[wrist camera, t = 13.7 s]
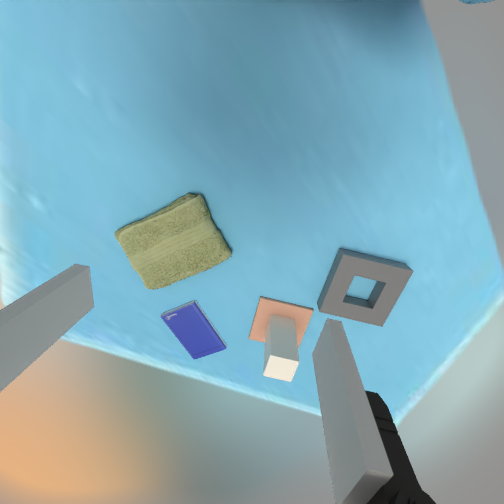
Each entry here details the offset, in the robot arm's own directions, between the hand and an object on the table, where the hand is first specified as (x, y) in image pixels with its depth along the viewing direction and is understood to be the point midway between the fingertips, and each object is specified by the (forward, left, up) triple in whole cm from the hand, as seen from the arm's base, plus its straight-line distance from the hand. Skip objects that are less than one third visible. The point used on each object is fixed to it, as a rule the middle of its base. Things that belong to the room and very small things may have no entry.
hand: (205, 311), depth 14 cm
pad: (+21, +10, -28) cm, 36 cm away
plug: (+21, +10, -27) cm, 36 cm away
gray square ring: (+9, +21, -28) cm, 36 cm away
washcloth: (+10, -11, -28) cm, 32 cm away
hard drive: (+28, -6, -28) cm, 40 cm away
